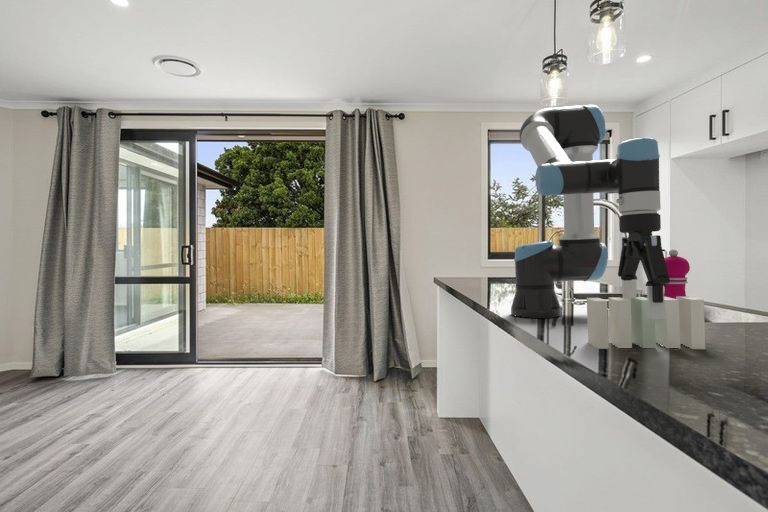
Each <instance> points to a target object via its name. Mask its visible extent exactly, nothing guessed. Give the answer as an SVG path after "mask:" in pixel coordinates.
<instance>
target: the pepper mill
mask: <svg viewBox="0 0 768 512" xmlns="http://www.w3.org/2000/svg"><path fill="white" fill-rule="evenodd" d="M678 255H679V251H678V250H676V249H671V250H669V252H668V256H666V257H664V259H665V263H666V266H667V270H668V274H669V278H670V282H669V283H666V284H665V286H664V297H669V298H673V299H676V296H687V294H686V284H688V277H687V276H686V275H688V273H689V271H690V269H691V266H690V263H689V261H688V260H687V259H686V258H684V257H683V256H678Z"/></svg>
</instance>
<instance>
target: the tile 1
mask: <svg viewBox="0 0 768 512" xmlns="http://www.w3.org/2000/svg"><path fill="white" fill-rule="evenodd" d="M586 315H587V317H586V319H587V343H588V344H589V345H590V346H592V347H593V348H595V349H599V350H600V349H603V350H604V349H605V350H609V349H610V348H609V324H608V323H609V322H608V321H609V315H608V300H606V299H603V298H601V297H586Z"/></svg>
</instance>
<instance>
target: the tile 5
mask: <svg viewBox="0 0 768 512" xmlns="http://www.w3.org/2000/svg"><path fill="white" fill-rule="evenodd" d="M676 299H678V300H679V318H680V343H681V344H683V345H682V346H684V345H685V346H684V347H686V346H687V347H686V348H688V347H689V349H691V350H706V332H705V331H706V330H705V329H706V327H705V326H706V325H705V323H706V322H705V300H704V298H703V299H702V298H700V297H693V296H689V295H686V296H676ZM681 344H680V345H681Z"/></svg>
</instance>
